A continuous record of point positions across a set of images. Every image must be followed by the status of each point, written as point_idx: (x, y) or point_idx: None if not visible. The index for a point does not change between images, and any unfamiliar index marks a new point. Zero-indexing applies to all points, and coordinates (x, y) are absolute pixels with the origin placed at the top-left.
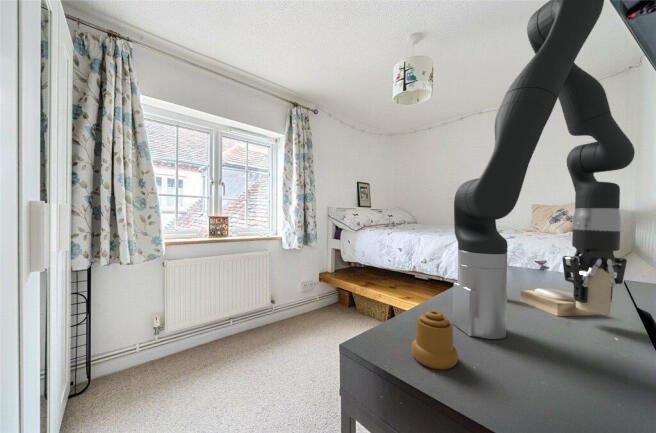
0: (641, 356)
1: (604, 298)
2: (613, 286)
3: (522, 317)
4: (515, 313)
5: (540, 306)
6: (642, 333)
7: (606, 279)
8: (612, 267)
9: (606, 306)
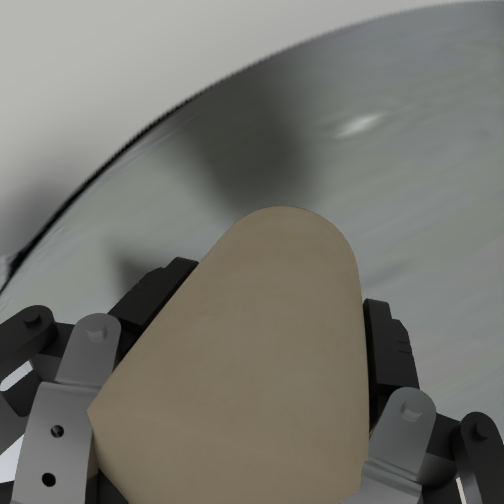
0: (447, 22)
1: (304, 258)
2: (107, 316)
3: (455, 353)
4: (433, 378)
5: None
6: (169, 133)
7: (257, 398)
8: (17, 476)
9: (292, 225)
